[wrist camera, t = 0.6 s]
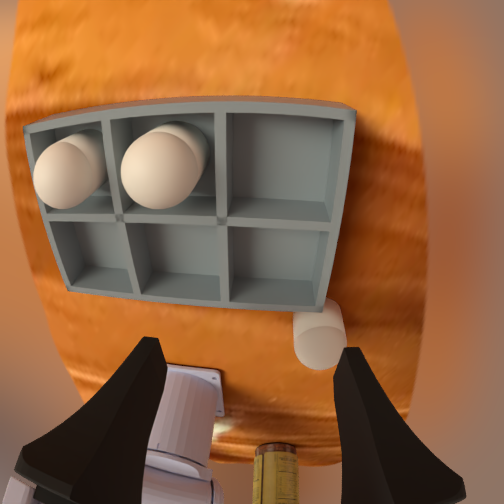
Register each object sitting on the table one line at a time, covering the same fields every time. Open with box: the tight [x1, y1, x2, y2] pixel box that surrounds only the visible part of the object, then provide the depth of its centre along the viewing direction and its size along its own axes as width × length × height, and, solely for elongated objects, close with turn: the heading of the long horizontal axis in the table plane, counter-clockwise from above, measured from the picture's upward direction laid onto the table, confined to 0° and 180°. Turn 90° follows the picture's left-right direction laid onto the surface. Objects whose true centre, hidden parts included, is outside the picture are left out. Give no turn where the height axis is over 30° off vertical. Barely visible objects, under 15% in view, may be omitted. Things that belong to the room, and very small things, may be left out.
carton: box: [23, 96, 357, 313], centre depth 16 cm, size 12×17×3 cm
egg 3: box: [293, 298, 347, 370], centre depth 20 cm, size 4×4×5 cm
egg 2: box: [121, 121, 210, 209], centre depth 14 cm, size 4×4×5 cm
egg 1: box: [33, 129, 109, 209], centre depth 14 cm, size 4×4×5 cm
